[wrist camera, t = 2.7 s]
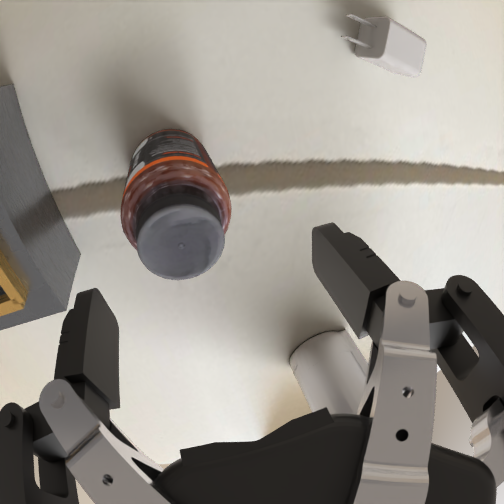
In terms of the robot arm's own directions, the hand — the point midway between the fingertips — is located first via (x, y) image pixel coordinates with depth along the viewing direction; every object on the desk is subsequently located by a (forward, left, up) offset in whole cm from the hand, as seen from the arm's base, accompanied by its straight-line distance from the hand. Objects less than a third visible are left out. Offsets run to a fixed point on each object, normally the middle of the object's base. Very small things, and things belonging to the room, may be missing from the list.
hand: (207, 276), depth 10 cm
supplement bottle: (+1, 0, -14) cm, 14 cm away
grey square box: (+19, -3, -14) cm, 24 cm away
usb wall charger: (-17, -8, -15) cm, 24 cm away
